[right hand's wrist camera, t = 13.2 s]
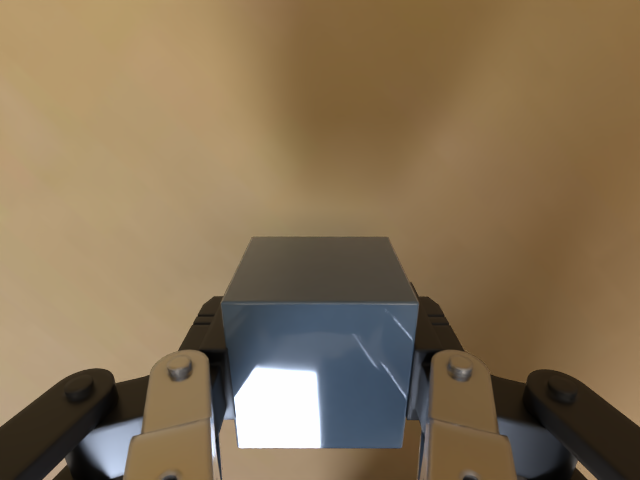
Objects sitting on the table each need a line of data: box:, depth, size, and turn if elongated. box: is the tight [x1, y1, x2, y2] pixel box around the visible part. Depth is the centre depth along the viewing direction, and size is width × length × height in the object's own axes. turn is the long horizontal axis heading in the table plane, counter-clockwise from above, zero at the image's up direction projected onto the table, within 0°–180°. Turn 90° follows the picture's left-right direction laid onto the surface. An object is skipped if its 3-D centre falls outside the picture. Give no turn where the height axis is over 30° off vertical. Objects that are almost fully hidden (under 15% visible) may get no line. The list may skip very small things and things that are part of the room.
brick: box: [221, 237, 419, 448], centre depth 11 cm, size 5×4×4 cm
